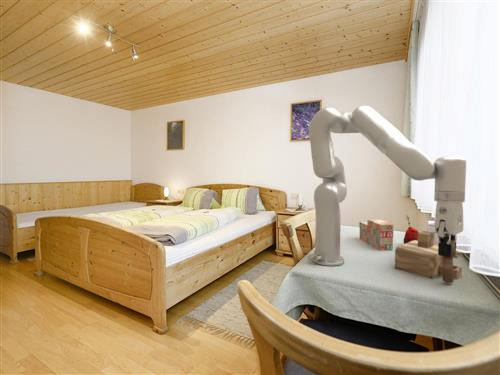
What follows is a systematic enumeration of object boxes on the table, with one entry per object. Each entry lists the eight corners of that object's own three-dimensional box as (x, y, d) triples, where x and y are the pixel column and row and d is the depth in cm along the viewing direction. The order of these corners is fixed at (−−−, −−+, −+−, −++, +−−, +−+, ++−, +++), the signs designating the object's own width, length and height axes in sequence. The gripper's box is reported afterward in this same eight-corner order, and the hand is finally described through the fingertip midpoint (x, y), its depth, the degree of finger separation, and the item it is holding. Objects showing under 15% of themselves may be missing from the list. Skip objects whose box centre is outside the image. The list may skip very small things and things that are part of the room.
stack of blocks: (359, 238, 137) (359, 216, 137) (370, 238, 137) (371, 215, 137) (379, 251, 116) (379, 224, 115) (393, 250, 116) (393, 223, 115)
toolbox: (451, 283, 81) (451, 262, 81) (394, 268, 95) (395, 249, 94) (466, 272, 91) (467, 252, 90) (413, 259, 104) (413, 242, 104)
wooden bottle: (453, 284, 78) (453, 242, 78) (438, 281, 81) (438, 240, 81) (457, 281, 81) (457, 240, 80) (442, 278, 84) (442, 238, 83)
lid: (451, 265, 81) (452, 243, 80) (396, 252, 94) (396, 233, 94) (467, 255, 90) (468, 235, 90) (414, 244, 104) (415, 227, 103)
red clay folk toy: (422, 249, 117) (423, 217, 116) (404, 248, 120) (405, 216, 119) (418, 245, 124) (419, 214, 123) (402, 243, 127) (403, 213, 126)
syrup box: (444, 259, 104) (446, 224, 103) (427, 257, 107) (428, 222, 106) (443, 255, 108) (444, 221, 108) (426, 253, 112) (427, 220, 111)
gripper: (455, 199, 72) (452, 263, 73) (472, 196, 82) (470, 252, 83) (424, 197, 78) (422, 256, 79) (444, 194, 88) (442, 247, 89)
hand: (447, 254), depth 81 cm, fingers closed on wooden bottle, 3 cm apart
